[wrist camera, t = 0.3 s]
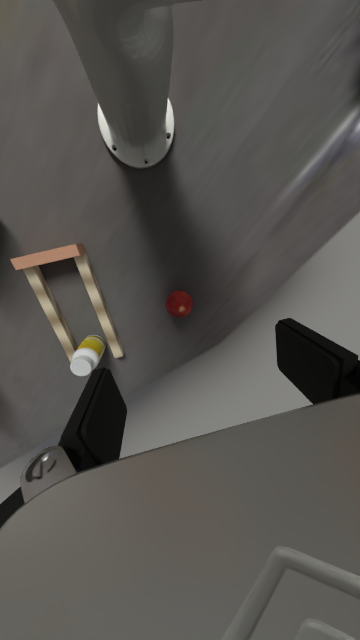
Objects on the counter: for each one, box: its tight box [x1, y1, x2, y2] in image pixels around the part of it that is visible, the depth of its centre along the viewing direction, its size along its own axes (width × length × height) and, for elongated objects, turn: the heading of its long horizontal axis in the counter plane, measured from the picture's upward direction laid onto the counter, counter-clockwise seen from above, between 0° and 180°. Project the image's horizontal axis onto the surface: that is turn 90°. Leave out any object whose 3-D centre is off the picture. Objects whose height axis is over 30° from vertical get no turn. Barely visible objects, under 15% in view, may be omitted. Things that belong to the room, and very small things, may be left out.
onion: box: [166, 291, 193, 318], centre depth 43 cm, size 6×6×8 cm
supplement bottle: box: [70, 335, 106, 376], centre depth 44 cm, size 5×5×10 cm
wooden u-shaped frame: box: [10, 244, 124, 363], centre depth 43 cm, size 26×12×4 cm, turn 12°
